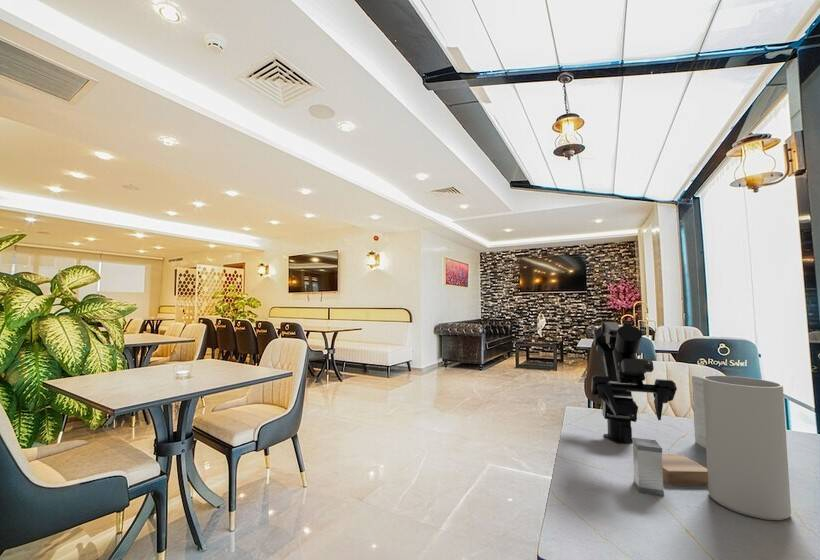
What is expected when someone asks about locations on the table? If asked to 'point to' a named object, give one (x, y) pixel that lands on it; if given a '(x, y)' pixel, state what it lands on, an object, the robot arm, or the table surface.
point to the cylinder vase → (747, 446)
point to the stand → (683, 471)
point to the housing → (648, 466)
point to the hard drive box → (699, 410)
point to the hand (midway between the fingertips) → (637, 417)
